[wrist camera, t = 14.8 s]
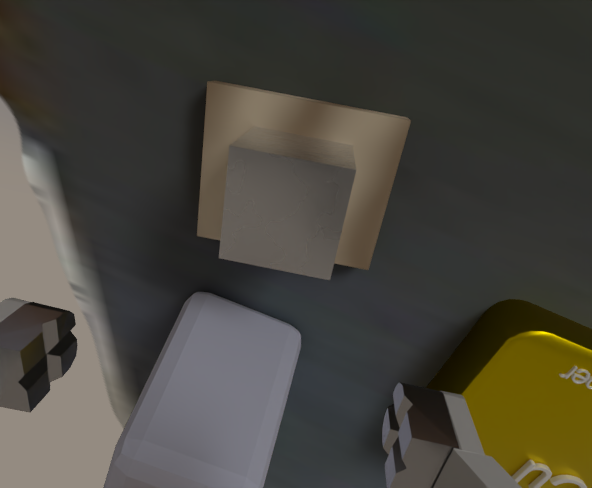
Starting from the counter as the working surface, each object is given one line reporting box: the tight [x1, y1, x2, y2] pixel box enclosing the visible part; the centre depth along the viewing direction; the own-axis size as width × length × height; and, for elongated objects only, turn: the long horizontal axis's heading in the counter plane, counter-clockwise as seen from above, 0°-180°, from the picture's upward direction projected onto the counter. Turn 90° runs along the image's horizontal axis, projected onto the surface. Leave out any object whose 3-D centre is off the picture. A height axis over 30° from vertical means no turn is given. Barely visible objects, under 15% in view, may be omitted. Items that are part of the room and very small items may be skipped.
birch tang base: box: [197, 81, 411, 270], centre depth 24 cm, size 12×10×6 cm
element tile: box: [426, 299, 592, 488], centre depth 30 cm, size 15×15×5 cm
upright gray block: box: [219, 126, 356, 280], centre depth 22 cm, size 6×6×6 cm
